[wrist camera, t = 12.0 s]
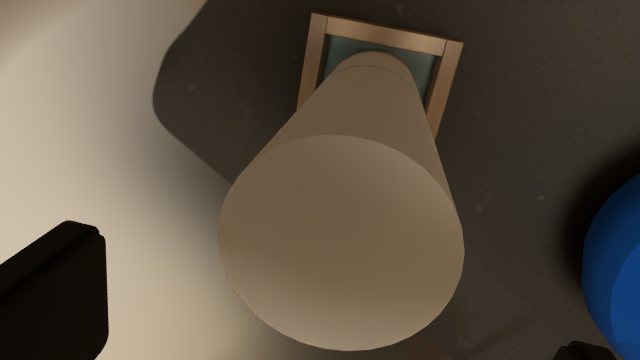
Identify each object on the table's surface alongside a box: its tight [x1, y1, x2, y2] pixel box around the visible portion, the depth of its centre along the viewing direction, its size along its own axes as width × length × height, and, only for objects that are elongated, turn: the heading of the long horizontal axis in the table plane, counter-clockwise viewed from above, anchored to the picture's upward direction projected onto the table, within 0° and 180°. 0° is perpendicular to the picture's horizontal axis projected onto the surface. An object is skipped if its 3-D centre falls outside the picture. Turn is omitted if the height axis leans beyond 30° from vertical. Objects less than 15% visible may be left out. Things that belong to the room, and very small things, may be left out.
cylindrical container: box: [218, 49, 465, 351], centre depth 24 cm, size 7×7×25 cm
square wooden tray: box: [296, 12, 464, 142], centre depth 34 cm, size 11×11×4 cm
